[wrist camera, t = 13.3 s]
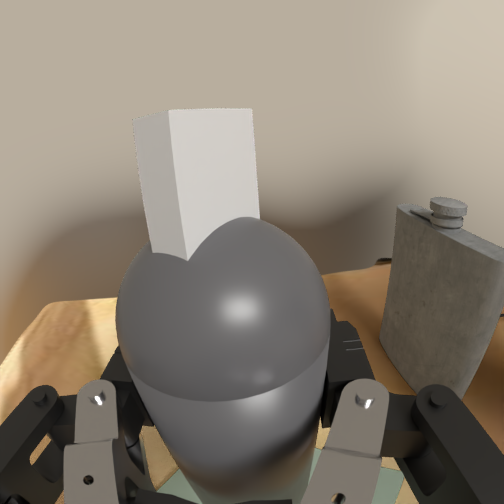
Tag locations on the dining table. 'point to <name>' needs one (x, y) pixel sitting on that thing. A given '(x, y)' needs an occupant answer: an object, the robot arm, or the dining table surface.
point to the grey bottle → (222, 314)
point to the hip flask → (440, 296)
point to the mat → (382, 498)
